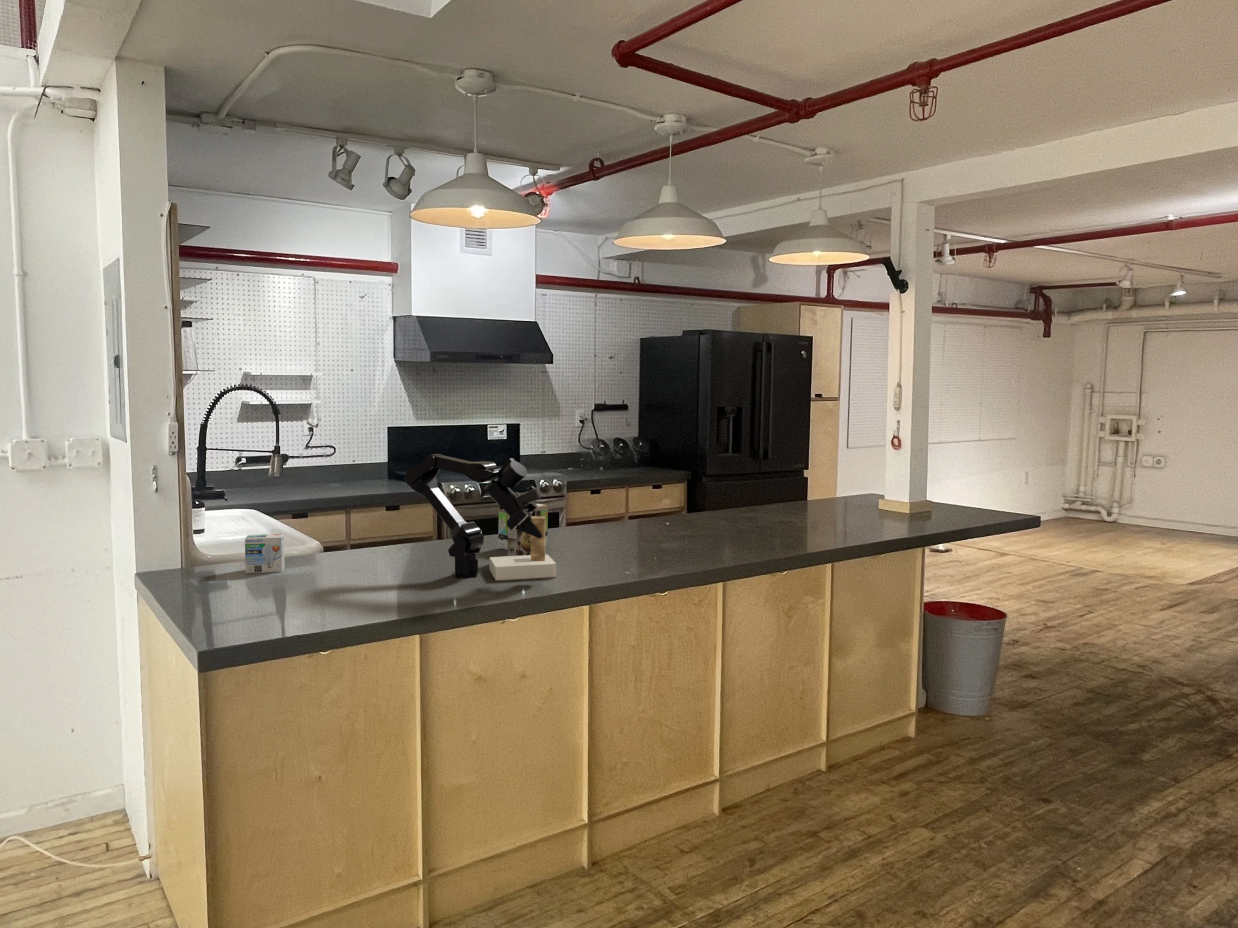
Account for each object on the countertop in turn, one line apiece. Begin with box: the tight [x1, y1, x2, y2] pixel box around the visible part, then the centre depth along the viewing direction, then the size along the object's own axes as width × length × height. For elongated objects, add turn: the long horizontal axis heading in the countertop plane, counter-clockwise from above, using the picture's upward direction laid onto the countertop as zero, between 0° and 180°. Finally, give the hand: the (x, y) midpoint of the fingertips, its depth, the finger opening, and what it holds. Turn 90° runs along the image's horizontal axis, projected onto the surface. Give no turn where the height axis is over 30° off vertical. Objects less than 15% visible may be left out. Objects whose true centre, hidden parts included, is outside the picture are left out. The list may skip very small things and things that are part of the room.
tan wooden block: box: [531, 516, 546, 561], centre depth 257 cm, size 4×4×12 cm
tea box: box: [497, 503, 549, 551], centre depth 308 cm, size 15×10×15 cm, turn 143°
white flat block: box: [489, 553, 557, 581], centre depth 268 cm, size 18×14×4 cm
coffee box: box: [507, 509, 541, 556], centre depth 288 cm, size 9×6×16 cm
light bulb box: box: [244, 533, 286, 574], centre depth 269 cm, size 11×7×11 cm, turn 106°
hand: (542, 535), depth 257 cm, fingers closed on tan wooden block, 4 cm apart
